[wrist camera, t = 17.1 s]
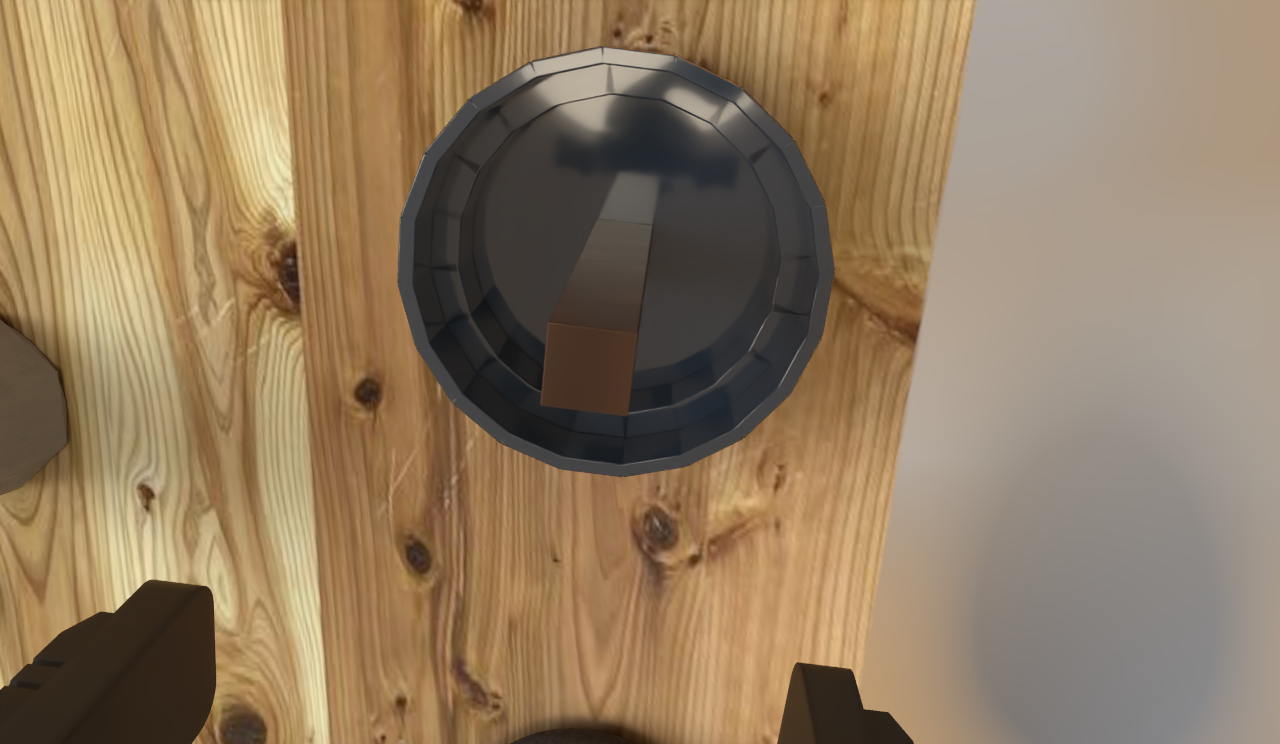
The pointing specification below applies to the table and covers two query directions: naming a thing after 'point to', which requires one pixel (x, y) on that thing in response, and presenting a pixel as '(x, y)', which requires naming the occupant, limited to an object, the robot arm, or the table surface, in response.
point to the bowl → (678, 264)
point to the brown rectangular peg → (598, 322)
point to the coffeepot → (27, 410)
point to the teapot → (572, 737)
